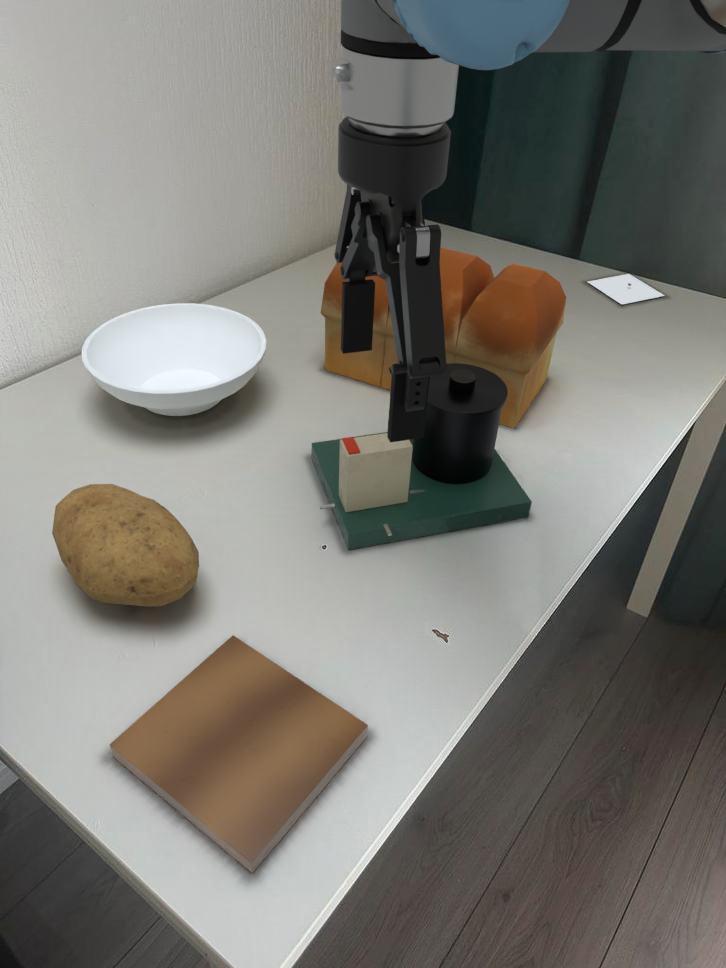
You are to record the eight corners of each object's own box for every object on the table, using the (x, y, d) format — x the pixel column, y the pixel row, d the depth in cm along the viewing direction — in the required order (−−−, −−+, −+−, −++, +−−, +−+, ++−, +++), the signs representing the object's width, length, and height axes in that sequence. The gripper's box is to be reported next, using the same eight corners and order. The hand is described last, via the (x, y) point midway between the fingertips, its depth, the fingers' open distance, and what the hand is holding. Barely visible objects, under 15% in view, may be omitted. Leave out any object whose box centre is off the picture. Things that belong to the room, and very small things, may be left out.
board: (367, 736, 55) (368, 724, 54) (252, 873, 48) (251, 862, 47) (234, 647, 61) (232, 634, 60) (112, 756, 53) (108, 744, 52)
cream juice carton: (399, 485, 74) (404, 428, 70) (407, 502, 72) (413, 444, 68) (338, 495, 72) (339, 437, 68) (345, 512, 71) (347, 454, 66)
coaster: (586, 281, 115) (587, 276, 115) (628, 273, 118) (630, 268, 118) (621, 304, 110) (623, 299, 109) (665, 295, 113) (666, 290, 112)
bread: (320, 369, 93) (320, 252, 84) (367, 327, 102) (372, 216, 93) (517, 431, 85) (542, 308, 76) (550, 379, 94) (576, 263, 84)
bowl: (184, 337, 98) (178, 287, 94) (303, 390, 90) (303, 337, 85) (55, 404, 86) (41, 350, 81) (180, 472, 77) (172, 416, 73)
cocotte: (508, 478, 75) (525, 394, 69) (426, 492, 73) (436, 407, 67) (474, 428, 82) (487, 347, 75) (397, 440, 80) (404, 357, 73)
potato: (144, 663, 59) (128, 593, 54) (37, 577, 66) (13, 506, 61) (236, 592, 65) (229, 522, 60) (130, 519, 72) (115, 450, 67)
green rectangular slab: (533, 524, 73) (537, 507, 72) (334, 561, 68) (334, 544, 67) (471, 434, 84) (474, 417, 83) (296, 460, 80) (295, 443, 78)
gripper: (297, 76, 59) (301, 324, 73) (402, 187, 41) (381, 491, 55) (390, 73, 61) (377, 316, 75) (529, 179, 43) (478, 474, 57)
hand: (378, 390), depth 65 cm, fingers open, 13 cm apart
